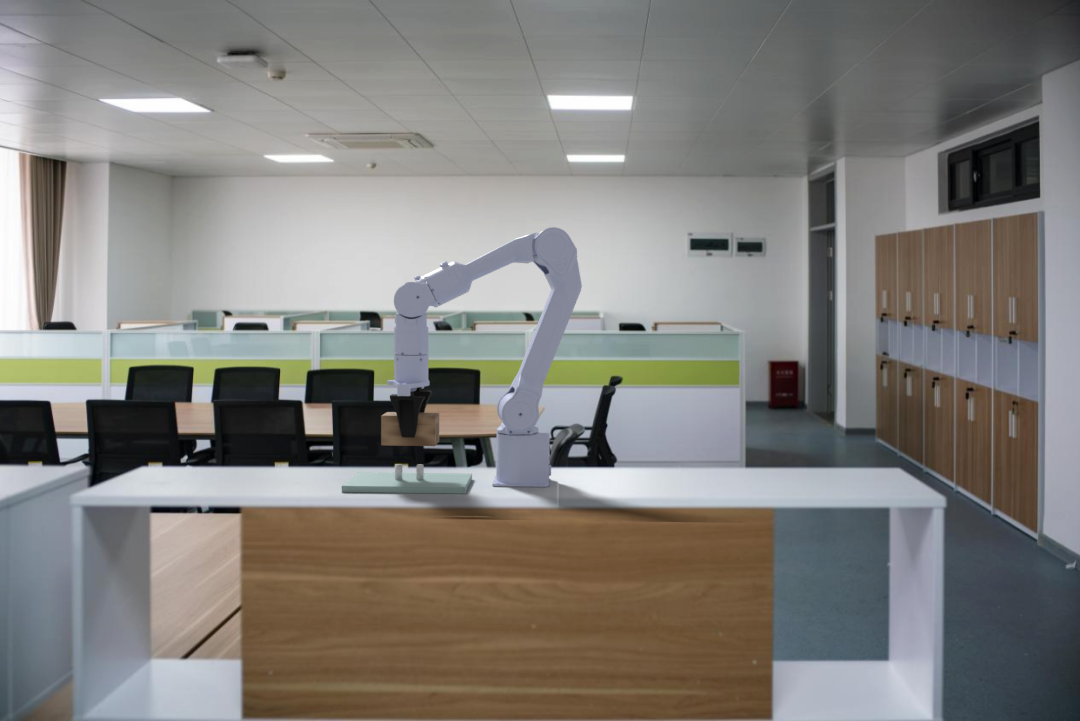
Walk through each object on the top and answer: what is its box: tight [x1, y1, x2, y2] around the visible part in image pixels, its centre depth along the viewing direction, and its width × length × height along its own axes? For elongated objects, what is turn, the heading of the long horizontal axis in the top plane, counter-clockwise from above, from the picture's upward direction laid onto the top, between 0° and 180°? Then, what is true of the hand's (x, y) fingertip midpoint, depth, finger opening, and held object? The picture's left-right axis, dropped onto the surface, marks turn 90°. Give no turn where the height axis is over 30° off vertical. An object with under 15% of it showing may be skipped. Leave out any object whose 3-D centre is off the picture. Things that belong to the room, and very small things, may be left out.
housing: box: [380, 411, 440, 447], centre depth 150 cm, size 9×5×5 cm, turn 88°
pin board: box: [341, 463, 473, 494], centre depth 150 cm, size 20×12×4 cm, turn 89°
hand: (411, 434), depth 150 cm, fingers closed on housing, 5 cm apart
